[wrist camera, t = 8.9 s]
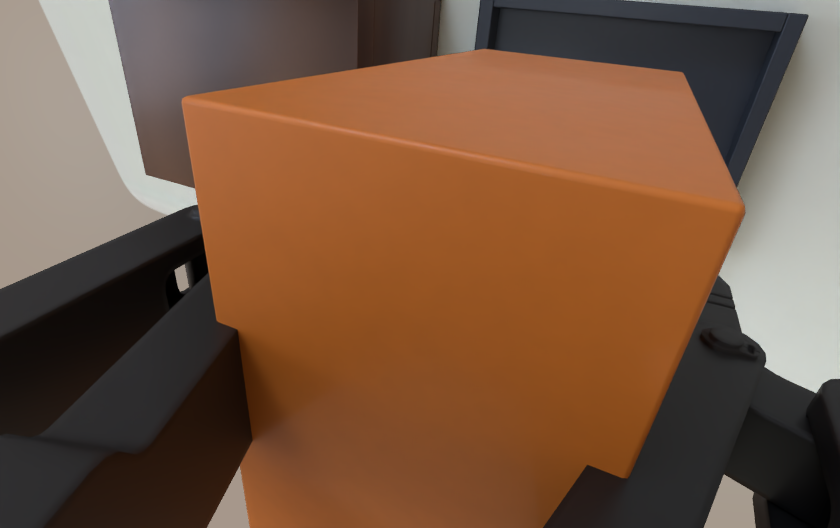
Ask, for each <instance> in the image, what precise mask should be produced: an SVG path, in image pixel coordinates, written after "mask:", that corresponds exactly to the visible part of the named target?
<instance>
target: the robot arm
mask: <svg viewBox="0 0 840 528" xmlns="http://www.w3.org/2000/svg"><path fill="white" fill-rule="evenodd" d="M184 264H185V268H186V272H187V278H188V284H189V288H187V289H186V290H184V291H181V292H180V291H179V289H178V286H177V282H176V276H175V271H174V270H175V269H177V268H178V267H180V266H182V265H184ZM732 299H733V297H732V293H731V290H730V286H729V285H728V284H727V283H726V282H725V281H724V280H723V279H722V278H721V277H720V276H719V275H718V277H717V279H716V281H715V283H714V286H713V288H712V290H711V292H710V295H709V297H708V299H707V302H706V304H705V306H704V308H703V311H702V313H701V315H700V317H699V320H698V322H697V324H696V327H695V329H694V331H693V333H692V336H691V338H690V340H689V342H688V345H687V347H686V349H685V351H684V354H683V356H682V358H681V361H680V363H679V365H678V367H677V370H676V372H675V374H674V376H673V379H672V381H671V383H670V386H669V388H668V390H667V392H666V395H665V397H664V399H663V401H662V404H661V406H660V408H659V411H658V413H657V415H656V417H655V420H654V422H653V424H652V426H651V429H650V431H649V433H648V435H647V438H646V440H645V442H644V445H643V447H642V449H641V451H640V454H639V456H638V458H637V460H636V463H635V465H634V467H633V470H632V472H631V474H630V476H629V477H628V478H621V477H618V476H615V475H613V474H610V473H608V472H605V471H603V470H600V469H597V468H595V467H592V466H590V465H587V466H586V467H585V469H584V470H583V471H582V473H581V474H580V476H579V477H578V479H577V480H576V481H575V483H574V484H573V486H572V487H571V488H570V490H569V491H568V493H567V494H566V496H565V497H564V498H563V500H562V501H561V503H560V504H559V505H558V507H557V508H556V510H555V511H554V513H553V514H552V515H551V517H550V518H549V520H548V521H547V522H546V524H545V525H544V527H543V528H704V525H705V523H706V520H707V517H708V514H709V512H710V509H711V507H712V504H713V501H714V499H715V496H716V493H717V490H718V488H719V485H720V483H721V480H722V477H723V475H724V474H725V475H726V476H728V477H730V478H732V479H733V480H735V481H736V482H738V483H740V484H741V485H743V486H745V487H747V488H748V489H750V490H752V491H753V492H754V495H753V506H754V514H755V524H756V528H840V379H830V380H828V381H827V382H825V383H823V384H822V386H821V387H820V389H819V390H818V392H817V393H814V392H812V391H810V390H808V389H805V388H803V387H801V386H799V385H797V384H794V383H792V382H790V381H788V380H786V379H784V378H782V377H780V376H778V375H776V374H774V373H773V372H771V371H770V370H768V369H767V368H765V367H764V366H765V363H766V354H765V352H764V351H763V349H762V348H761V347H760V346H759V344H758V343H756V342H755V341H754V340H752V339H751V338H750V337H748V336H747V335H745V334H743V333H742V331H741V328H740V324H739V320H738V316H737V312H736V310H735V305H734V301H733V300H732ZM252 441H253V440H252V432H251V425H250V418H249V410H248V403H247V396H246V388H245V381H244V374H243V366H242V359H241V352H240V344H239V337H238V330H237V329H235V328H232V327H230V326H227V325H225V324H222V323H219V322H218V321H217V320H216V314H215V308H214V302H213V295H212V289H211V283H210V277H209V271H208V264H207V258H206V252H205V246H204V239H203V233H202V227H201V221H200V215H199V208H198V205H194V206H190V207H187V208H184V209H182V210H180V211H177V212H175V213H173V214H170V215H168V216H166V217H164V218H161V219H159V220H157V221H155V222H152V223H150V224H148V225H145V226H143V227H141V228H139V229H136V230H134V231H132V232H130V233H127V234H125V235H123V236H120V237H118V238H116V239H114V240H111V241H109V242H107V243H104V244H102V245H100V246H98V247H95V248H93V249H91V250H89V251H86V252H84V253H82V254H79V255H77V256H75V257H73V258H70V259H68V260H66V261H63V262H61V263H59V264H57V265H54V266H52V267H50V268H48V269H45V270H43V271H41V272H38V273H36V274H34V275H32V276H29V277H27V278H25V279H22V280H20V281H18V282H16V283H13V284H11V285H9V286H7V287H4V288H2V289H0V528H207V526H208V524H209V522H210V521H211V519H212V517H213V515H214V513H215V511H216V509H217V507H218V505H219V504H220V502H221V500H222V498H223V496H224V494H225V492H226V490H227V488H228V486H229V484H230V483H231V481H232V479H233V477H234V475H235V473H236V471H237V470H238V468H239V466H240V464H241V462H242V460H243V458H244V456H245V454H246V453H247V451H248V449H249V447H250V445H251V443H252Z"/></svg>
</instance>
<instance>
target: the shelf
mask: <svg viewBox="0 0 840 528" xmlns="http://www.w3.org/2000/svg"><path fill="white" fill-rule="evenodd" d="M109 5H110V10H111V14H112V19H113V24H114V28H115V33H116V38H117V42H118V47H119V52H120V56H121V61H122V66H123V70H124V75H125V80H126V84H127V89H128V94H129V98H130V103H131V108H132V112H133V117H134V122H135V126H136V131H137V136H138V140H139V145H140V150H141V154H142V159H143V164H144V168H145V173H146V175H149V176H153V177H156V178H160V179H163V180H167V181H171V182H174V183H178V184H181V185H185V186H188V187H192V188H195V184H194V177H193V171H192V165H191V159H190V153H189V146H188V140H187V134H186V128H185V121H184V115H183V109H182V103H181V102H182V98H184V97H186V96H190V95H196V94H202V93H209V92H215V91H221V90H228V89H234V88H240V87H247V86H253V85H259V84H265V83H272V82H278V81H284V80H291V79H297V78H303V77H310V76H316V75H322V74H329V73H335V72H341V71H347V70H354V69H360V68H366V67H373V66H379V65H385V64H392V63H398V62H404V61H411V60H417V59H423V58H430V57H436V55H437V43H438V32H439V20H440V8H441V0H109Z"/></svg>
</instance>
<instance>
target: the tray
mask: <svg viewBox="0 0 840 528" xmlns="http://www.w3.org/2000/svg"><path fill="white" fill-rule="evenodd" d="M807 19H808V15H807V14H796V13H783V12H770V11H756V10H743V9H730V8H717V7H703V6H690V5H677V4H664V3H650V2H637V1H624V0H480V9H479V17H478V25H477V34H476V42H475V50H480V49H490V50H498V51H507V52H515V53H524V54H532V55H541V56H549V57H558V58H566V59H575V60H583V61H592V62H600V63H609V64H617V65H626V66H634V67H643V68H651V69H660V70H668V71H677V72H682V73H684V75H685V77H686V80H687V82H688V84H689V86H690V88H691V90H692V93H693V95H694V97H695V99H696V101H697V103H698V105H699V108H700V110H701V112H702V114H703V116H704V118H705V121H706V123H707V125H708V127H709V129H710V131H711V134H712V136H713V138H714V140H715V142H716V144H717V147H718V149H719V151H720V153H721V155H722V157H723V160H724V162H725V164H726V166H727V168H728V170H729V173H730V175H731V177H732V179H733V181H734V183H735V186H736V188H737V185H738V183H739V181H740V178H741V176H742V174H743V171H744V169H745V166H746V164H747V162H748V159H749V157H750V154H751V152H752V150H753V147H754V145H755V143H756V140H757V138H758V135H759V133H760V131H761V128H762V126H763V124H764V121H765V119H766V116H767V114H768V112H769V109H770V107H771V104H772V102H773V100H774V97H775V95H776V93H777V90H778V88H779V85H780V83H781V81H782V78H783V76H784V74H785V71H786V69H787V66H788V64H789V62H790V59H791V57H792V54H793V52H794V50H795V47H796V45H797V43H798V40H799V38H800V35H801V33H802V31H803V28H804V26H805V24H806V21H807Z"/></svg>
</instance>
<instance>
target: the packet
mask: <svg viewBox="0 0 840 528" xmlns="http://www.w3.org/2000/svg"><path fill="white" fill-rule="evenodd" d="M181 103H182V109H183V115H184V121H185V128H186V134H187V140H188V146H189V153H190V159H191V165H192V171H193V177H194V184H195V190H196V196H197V202H198V208H199V215H200V221H201V227H202V233H203V239H204V246H205V252H206V258H207V264H208V271H209V277H210V283H211V289H212V295H213V302H214V308H215V314H216V320H217V321H218V322H219V323H222V324H225V325H227V326H230V327H232V328H235V329H237V330H238V337H239V344H240V352H241V359H242V366H243V374H244V381H245V388H246V396H247V403H248V410H249V418H250V425H251V432H252V440H253V441H252V443H251V445H250V447H249V449H248V451H247V453H246V454H245V456H244V458H243V460H242V462H241V464H240V469H241V475H242V482H243V488H244V494H245V500H246V506H247V513H248V519H249V525H250V528H543V527H544V525H545V524H546V522H547V521H548V520H549V518H550V517H551V515H552V514H553V513H554V511H555V510H556V508H557V507H558V505H559V504H560V503H561V501H562V500H563V498H564V497H565V496H566V494H567V493H568V491H569V490H570V488H571V487H572V486H573V484H574V483H575V481H576V480H577V479H578V477H579V476H580V474H581V473H582V471H583V470H584V469H585V467H586V466H587V465H590V466H592V467H595V468H597V469H600V470H603V471H605V472H608V473H610V474H613V475H615V476H618V477H621V478H628V477H629V476H630V474H631V472H632V470H633V467H634V465H635V463H636V460H637V458H638V456H639V454H640V451H641V449H642V447H643V445H644V442H645V440H646V438H647V435H648V433H649V431H650V429H651V426H652V424H653V422H654V420H655V417H656V415H657V413H658V411H659V408H660V406H661V404H662V401H663V399H664V397H665V395H666V392H667V390H668V388H669V386H670V383H671V381H672V379H673V376H674V374H675V372H676V370H677V367H678V365H679V363H680V361H681V358H682V356H683V354H684V351H685V349H686V347H687V345H688V342H689V340H690V338H691V336H692V333H693V331H694V329H695V327H696V324H697V322H698V320H699V317H700V315H701V313H702V311H703V308H704V306H705V304H706V302H707V299H708V297H709V295H710V292H711V290H712V288H713V286H714V283H715V281H716V279H717V277H718V274H719V272H720V270H721V267H722V265H723V263H724V261H725V258H726V256H727V254H728V252H729V249H730V247H731V245H732V243H733V240H734V238H735V236H736V233H737V231H738V229H739V227H740V224H741V222H742V220H743V218H744V215H745V205H744V203H743V201H742V199H741V196H740V194H739V192H738V190H737V188H736V186H735V183H734V181H733V179H732V177H731V175H730V173H729V170H728V168H727V166H726V164H725V162H724V160H723V157H722V155H721V153H720V151H719V149H718V147H717V144H716V142H715V140H714V138H713V136H712V134H711V131H710V129H709V127H708V125H707V123H706V121H705V118H704V116H703V114H702V112H701V110H700V108H699V105H698V103H697V101H696V99H695V97H694V95H693V93H692V90H691V88H690V86H689V84H688V82H687V80H686V77H685V75H684V73H682V72H677V71H668V70H660V69H651V68H643V67H634V66H626V65H617V64H609V63H600V62H592V61H583V60H575V59H566V58H558V57H549V56H541V55H532V54H524V53H515V52H507V51H498V50H490V49H480V50H474V51H467V52H461V53H455V54H448V55H442V56H436V57H430V58H423V59H417V60H411V61H404V62H398V63H392V64H385V65H379V66H373V67H366V68H360V69H354V70H347V71H341V72H335V73H329V74H322V75H316V76H310V77H303V78H297V79H291V80H284V81H278V82H272V83H265V84H259V85H253V86H247V87H240V88H234V89H228V90H221V91H215V92H209V93H202V94H196V95H190V96H186V97H184V98H182V102H181Z"/></svg>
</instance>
